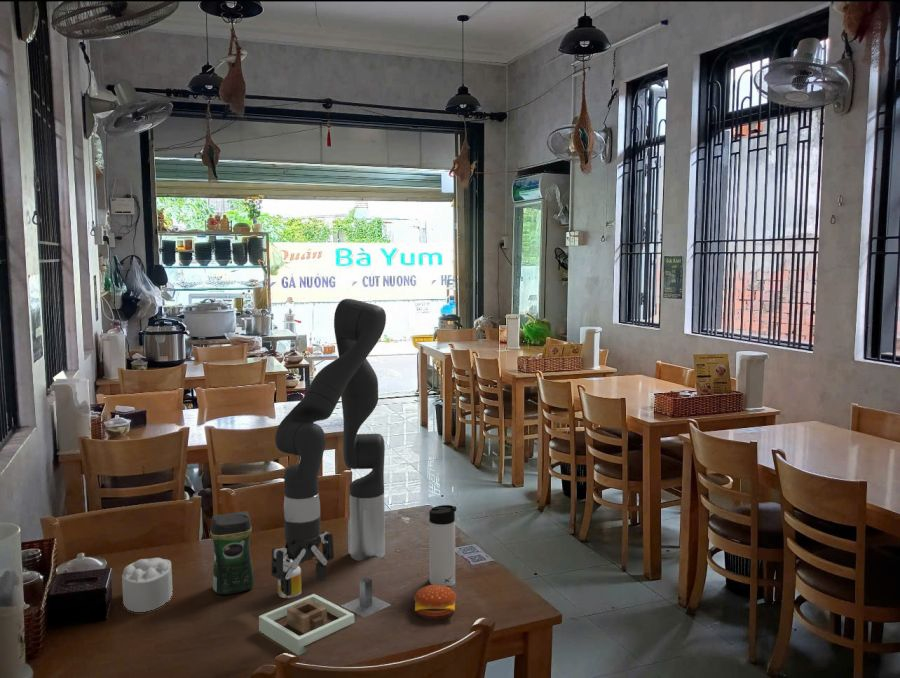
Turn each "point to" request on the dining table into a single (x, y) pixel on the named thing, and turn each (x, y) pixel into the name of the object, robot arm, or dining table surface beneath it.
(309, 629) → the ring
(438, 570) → the travel mug
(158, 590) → the lumpy-topped squat cylinder
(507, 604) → the dining table surface
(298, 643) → the tray
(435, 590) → the hamburger
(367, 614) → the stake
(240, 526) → the coffee jar
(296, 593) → the supplement bottle
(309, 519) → the robot arm
